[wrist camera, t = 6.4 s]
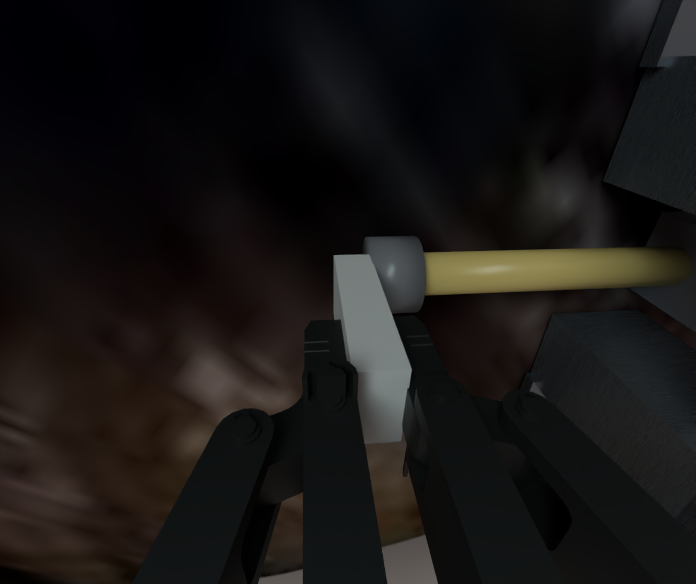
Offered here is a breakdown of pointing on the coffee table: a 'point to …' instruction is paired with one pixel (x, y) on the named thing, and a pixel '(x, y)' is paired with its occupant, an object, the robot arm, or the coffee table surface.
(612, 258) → the yellow handled grey mallet
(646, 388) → the housing
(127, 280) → the coffee table surface
